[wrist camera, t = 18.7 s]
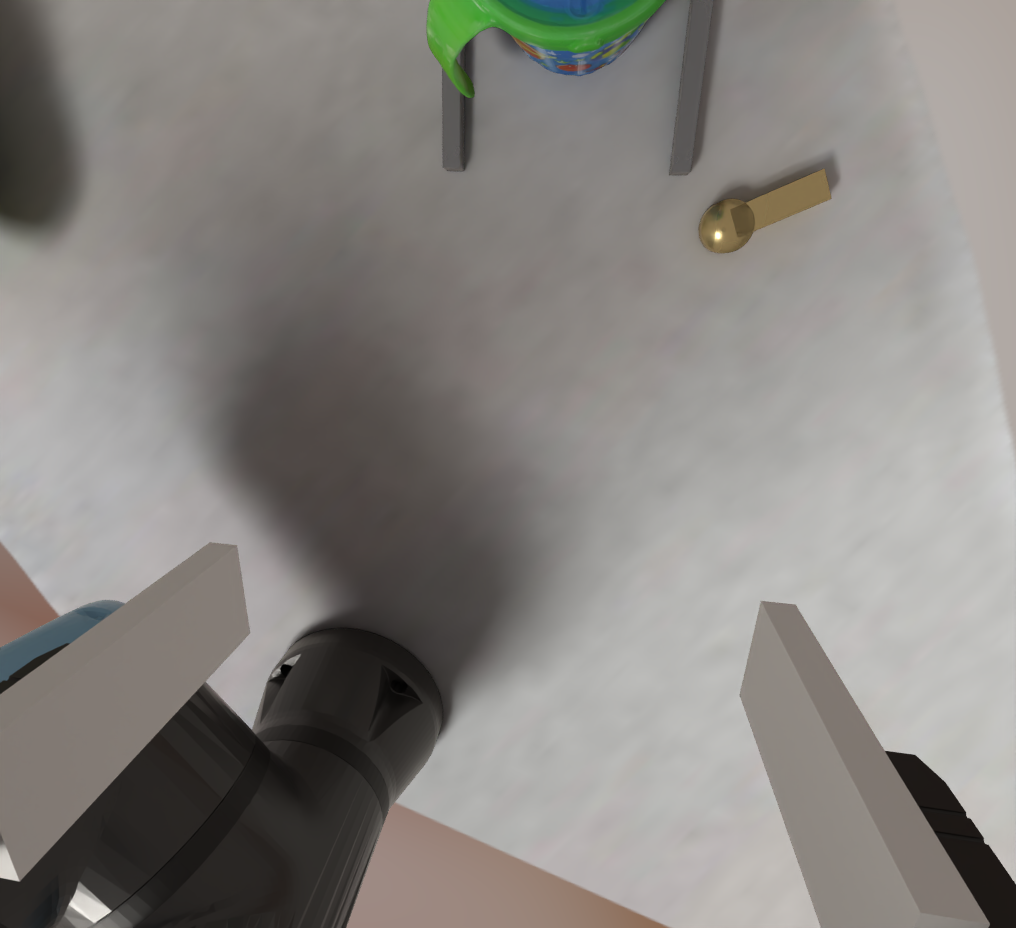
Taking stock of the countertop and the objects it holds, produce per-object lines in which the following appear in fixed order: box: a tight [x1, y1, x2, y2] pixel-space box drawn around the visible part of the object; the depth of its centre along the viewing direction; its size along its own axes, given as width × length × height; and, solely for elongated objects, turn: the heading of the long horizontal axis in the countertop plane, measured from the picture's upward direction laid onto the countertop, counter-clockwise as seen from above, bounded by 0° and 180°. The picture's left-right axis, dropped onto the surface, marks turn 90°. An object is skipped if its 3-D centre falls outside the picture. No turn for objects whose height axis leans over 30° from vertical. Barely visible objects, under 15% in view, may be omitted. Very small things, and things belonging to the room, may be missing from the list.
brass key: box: [699, 168, 831, 253], centre depth 31 cm, size 7×3×1 cm, turn 113°
